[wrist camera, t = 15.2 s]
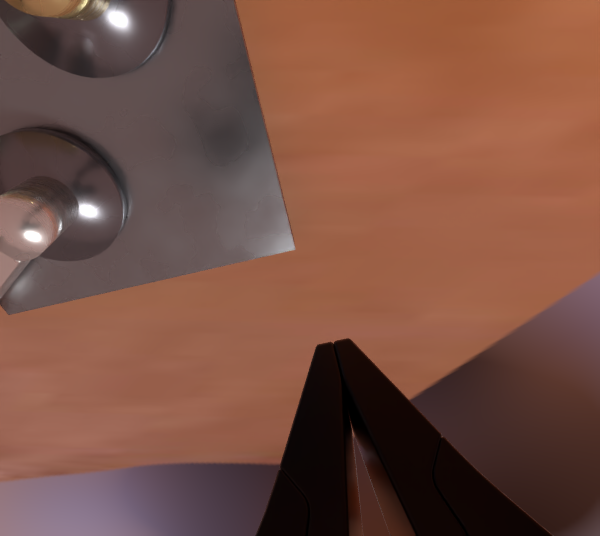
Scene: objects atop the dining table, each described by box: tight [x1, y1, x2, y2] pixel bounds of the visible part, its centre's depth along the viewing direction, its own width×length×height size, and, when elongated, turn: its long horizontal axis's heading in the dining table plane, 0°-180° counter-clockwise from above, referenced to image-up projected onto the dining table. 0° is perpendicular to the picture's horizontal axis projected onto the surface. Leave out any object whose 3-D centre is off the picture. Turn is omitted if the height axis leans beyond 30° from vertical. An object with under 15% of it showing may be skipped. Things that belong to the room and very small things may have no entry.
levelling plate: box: [0, 0, 295, 315], centre depth 15 cm, size 16×17×2 cm
